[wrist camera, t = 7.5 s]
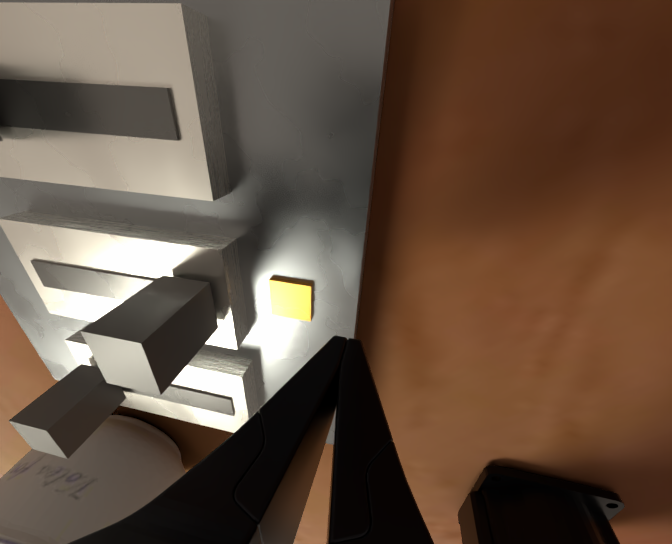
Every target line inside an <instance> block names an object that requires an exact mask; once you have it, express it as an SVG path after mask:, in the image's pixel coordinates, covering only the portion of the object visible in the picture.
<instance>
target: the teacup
mask: <svg viewBox="0 0 672 544" xmlns="http://www.w3.org/2000/svg"><path fill="white" fill-rule="evenodd" d="M184 474H185V469H184V466H183V464H182V462H181V453H180V451H179V449H178V447H177V445H176V444H175V443H174V441H173V440H172V439H170V438H169V437H168V436H167V435H166V434H165V433H163V432H162V431H160V430H159V429H157V428H156V427H154V426H152V425H150V424H148V423H145V422H143V421H141V420H138V419H135V418H132V417H127V416H122V415H110V416H109V417H108V418H107V419H106V420H105V421H104V422H103V423H102V424H101V425H100V426H99V427H98V428H97V429H96V430H95V431H94V432H93V433H92V434H91V436H90V437H89V438H88V439H87V440H86V441H85V442H84V443H83V444H82V445H81V446H80V447H79V448H78V449H77V450H76V451H75V452H74V453H73V454H72V455H71V456H70V457H69V458H68V459H66V458H62V457H59V456H55V455H52V454H48V453H45V452H41V451H38V450H34V449H32V450H31V451H30V452H28V453H27V454H26V455H25V456H24V457H23V458H22V459H21V460H20V461H18V462H17V463H16V464H15V465H14V466H13V467H12V468H11V469H10V470H9V471H8V472H7V473H6V474H5V475H4V476H3V477H2V478H0V544H67V543H70V542H72V541H74V540H77V539H79V538H81V537H84V536H86V535H88V534H91V533H93V532H95V531H98V530H100V529H102V528H105V527H107V526H109V525H111V524H114V523H116V522H118V521H120V520H122V519H124V518H125V517H127V516H129V515H131V514H132V513H134V512H136V511H137V510H139V509H140V508H142V507H143V506H145V505H146V504H148V503H149V502H150V501H152V500H153V499H154V498H155V497H157V496H158V495H159V494H161V493H162V492H163V491H164V490H166V489H167V488H168V487H169V486H170V485H172V484H173V483H174V482H175V481H177V480H178V479H179V478H180V477H182V476H183V475H184Z"/></svg>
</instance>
